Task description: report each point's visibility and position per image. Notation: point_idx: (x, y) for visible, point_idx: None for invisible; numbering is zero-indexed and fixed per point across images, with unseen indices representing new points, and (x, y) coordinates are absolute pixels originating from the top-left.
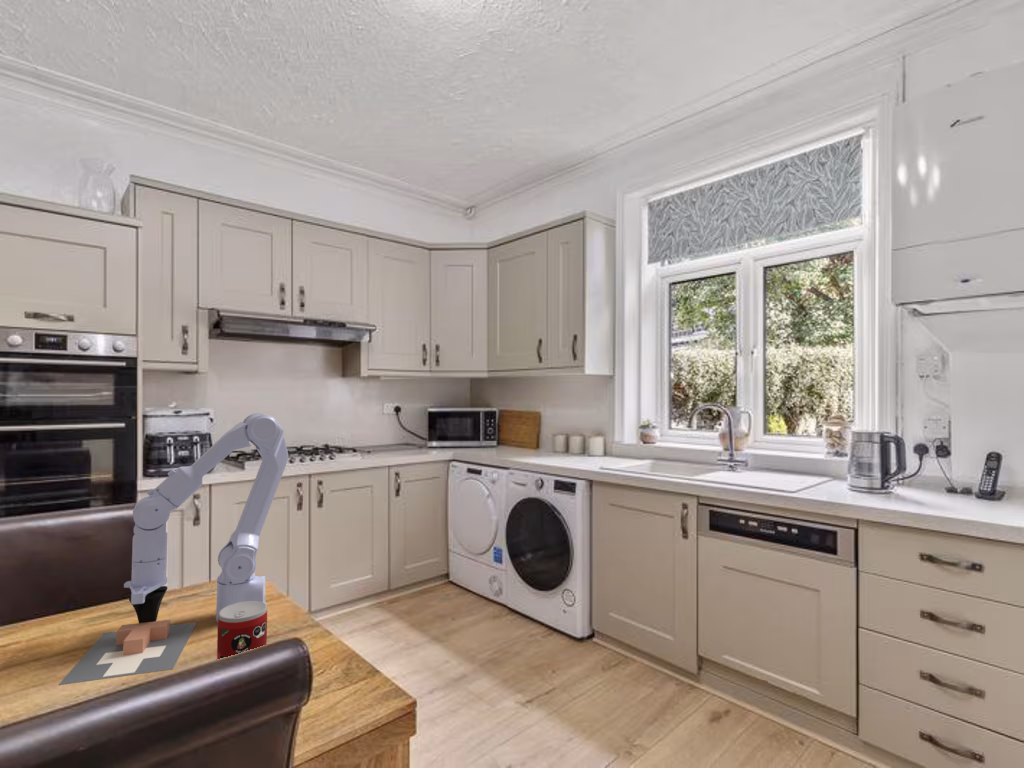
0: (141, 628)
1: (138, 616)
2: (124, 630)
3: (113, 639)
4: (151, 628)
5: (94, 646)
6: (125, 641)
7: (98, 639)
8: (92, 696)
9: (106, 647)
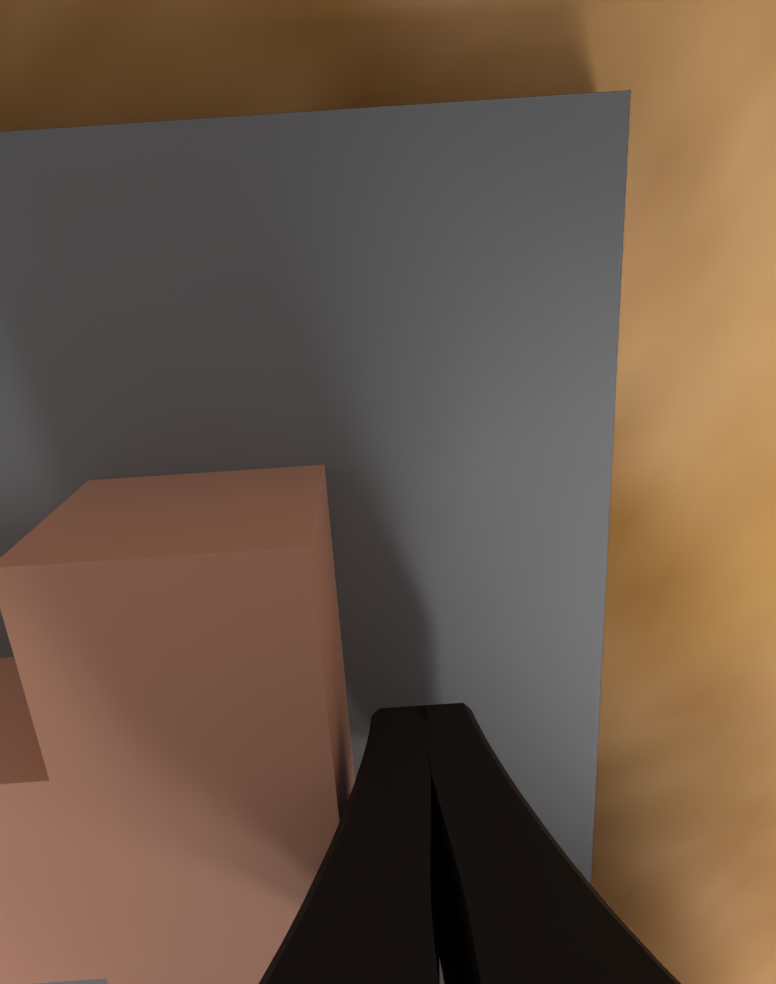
0: (90, 880)
1: (316, 884)
2: (24, 679)
3: (299, 366)
4: (108, 972)
5: (71, 170)
6: None
7: (353, 114)
8: None
9: (18, 377)
